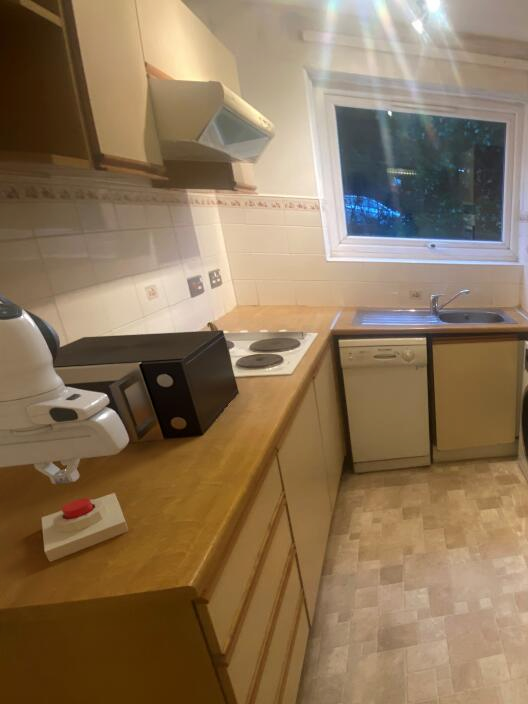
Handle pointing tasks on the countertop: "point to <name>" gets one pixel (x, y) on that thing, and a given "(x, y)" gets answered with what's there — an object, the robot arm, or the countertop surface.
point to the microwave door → (120, 395)
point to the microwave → (169, 373)
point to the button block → (82, 528)
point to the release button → (77, 508)
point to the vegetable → (214, 328)
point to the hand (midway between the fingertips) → (66, 480)
